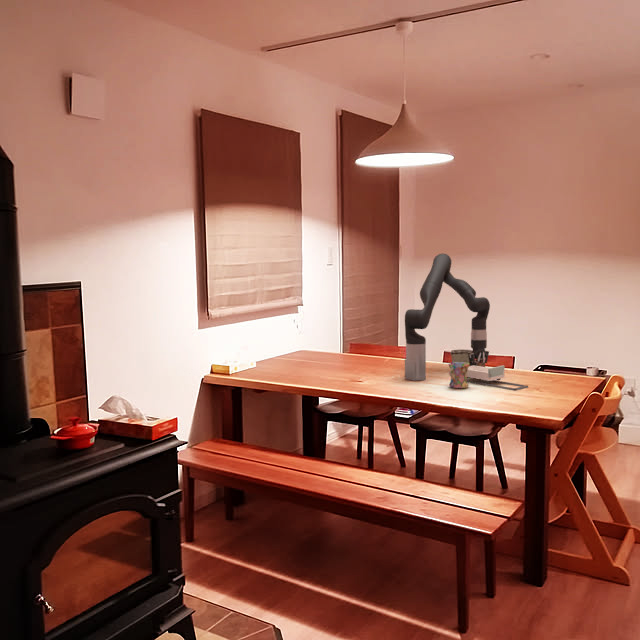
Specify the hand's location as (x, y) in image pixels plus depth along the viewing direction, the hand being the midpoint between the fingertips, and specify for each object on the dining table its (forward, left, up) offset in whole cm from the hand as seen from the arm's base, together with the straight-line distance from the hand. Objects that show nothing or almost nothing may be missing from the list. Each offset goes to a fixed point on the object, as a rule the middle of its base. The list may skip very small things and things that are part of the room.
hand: (478, 372), depth 315 cm
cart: (-14, -12, 0) cm, 18 cm away
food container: (+5, +14, -1) cm, 15 cm away
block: (0, 0, -1) cm, 1 cm away
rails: (-14, -17, -1) cm, 22 cm away
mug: (-32, -12, -1) cm, 34 cm away
